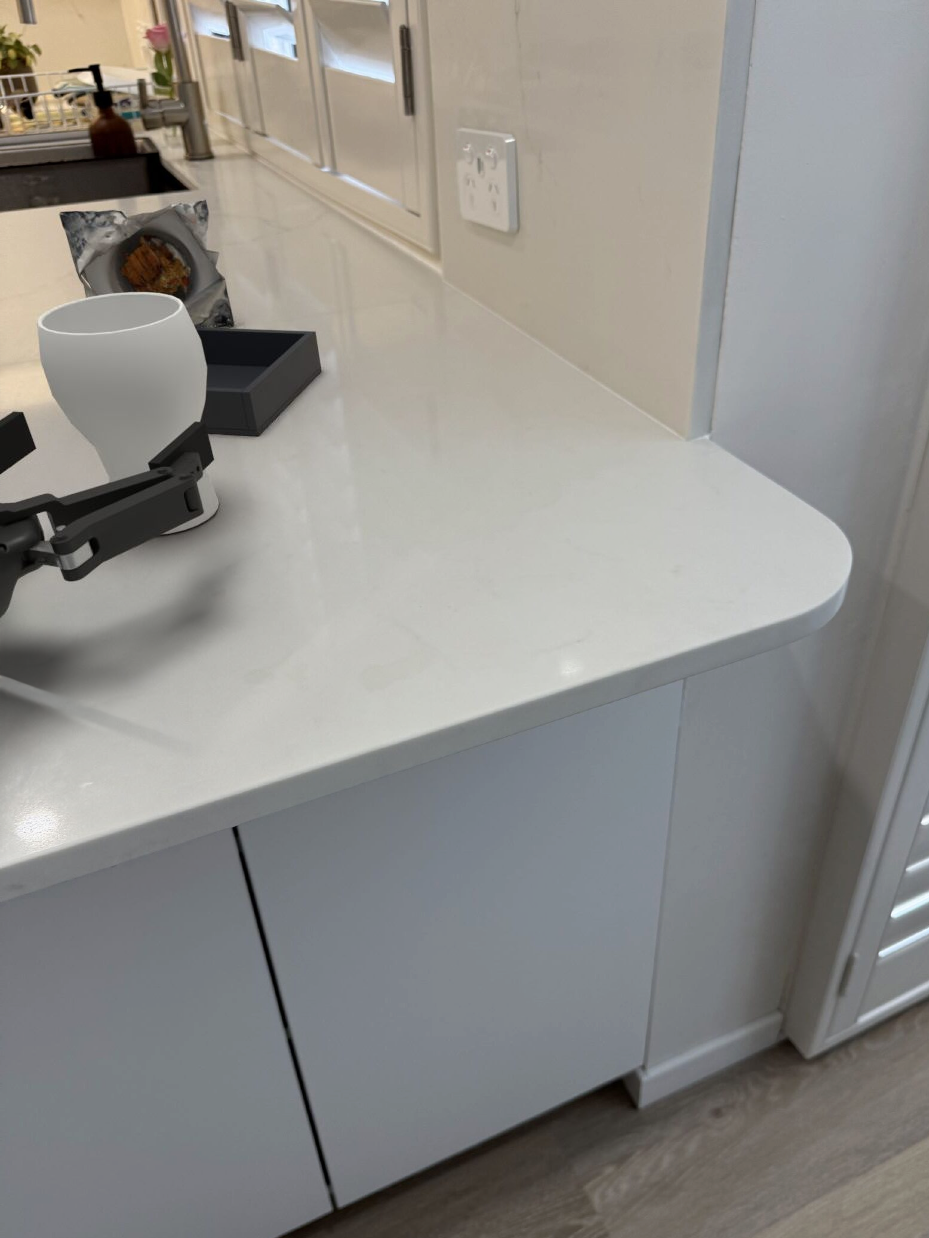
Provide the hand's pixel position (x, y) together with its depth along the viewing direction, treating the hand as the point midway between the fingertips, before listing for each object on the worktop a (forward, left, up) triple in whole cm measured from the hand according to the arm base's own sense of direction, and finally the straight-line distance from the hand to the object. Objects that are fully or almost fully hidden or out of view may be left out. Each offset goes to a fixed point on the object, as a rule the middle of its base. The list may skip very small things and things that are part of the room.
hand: (113, 435), depth 65 cm
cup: (0, +4, -8) cm, 9 cm away
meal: (-21, +45, -8) cm, 50 cm away
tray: (-7, +27, -8) cm, 29 cm away
